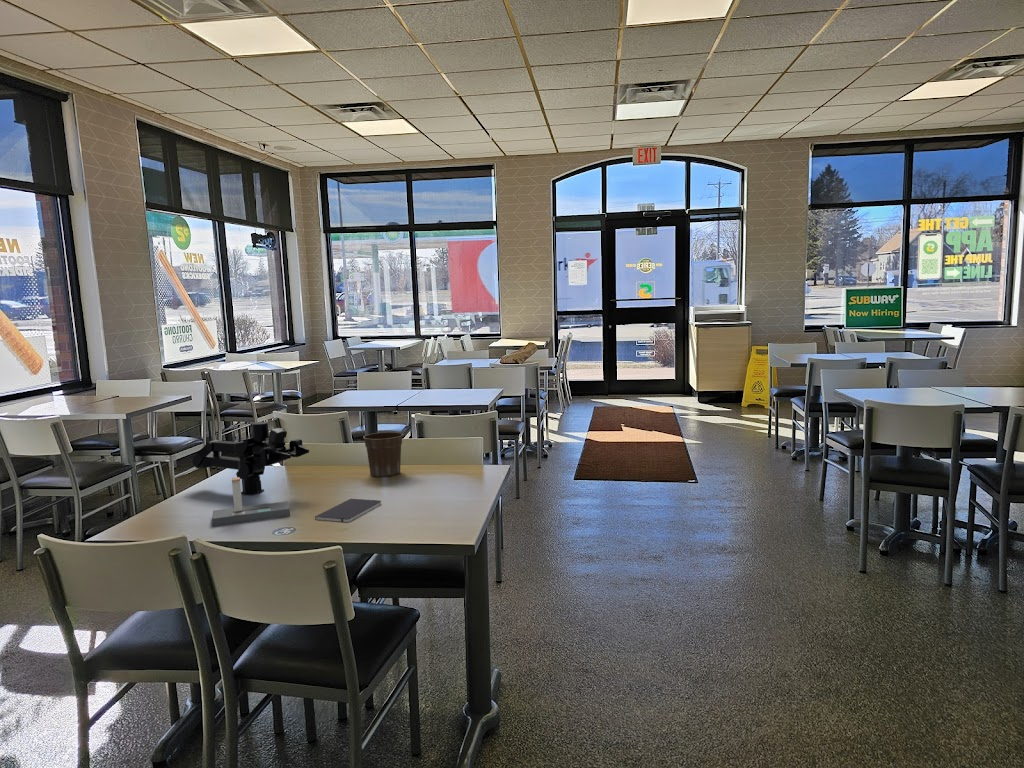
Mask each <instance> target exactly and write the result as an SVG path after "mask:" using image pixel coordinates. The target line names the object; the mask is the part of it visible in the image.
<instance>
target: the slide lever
mask: <svg viewBox="0 0 1024 768" xmlns="http://www.w3.org/2000/svg"><path fill="white" fill-rule="evenodd" d="M231 484H232V498H233V499H232V501H233V508H234V511H235V512H236V511H242V507H243V499H242V498H243V497H242V494H241V492H242V485H241V479H240V477H237V476H236V477H232V478H231Z"/></svg>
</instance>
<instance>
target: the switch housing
mask: <svg viewBox="0 0 1024 768" xmlns="http://www.w3.org/2000/svg"><path fill="white" fill-rule="evenodd" d="M290 516H291V509H290V503H289V501H288V500H286V501H278V502H271V503H263V504H261V503H260V504H256V505H255V504H253V505H248V506H247V505H246V506H242V511H236V512H235V511H234V507H231V508H222V509H215V510H213V511H212V516H211V525H212V526H213V527H215V526H223V525H229V524H237V523H244V522H252V521H260V520H266V519H267V520H268V519H273V518H282V517H290Z"/></svg>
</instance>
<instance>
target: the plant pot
mask: <svg viewBox="0 0 1024 768" xmlns="http://www.w3.org/2000/svg"><path fill="white" fill-rule="evenodd" d="M403 436H404V433H402V432H397V431H386V432H385V431H383V432H382V431H381V432H375V433H369V434H365V435H363V440H364V445H365V447H366V453H367V461H368V466H369V473H370V475H371V476H373V477H377V478H385V477H389V476H391V475H393V476H396V475H395V474H397V475H399V474H400V473H401V462H402V461H401V458H402V457H401V455H402V444H403ZM399 472H400V473H399ZM398 473H399V474H398Z"/></svg>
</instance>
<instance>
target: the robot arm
mask: <svg viewBox="0 0 1024 768" xmlns="http://www.w3.org/2000/svg"><path fill="white" fill-rule="evenodd" d="M250 429H251V437H249V438H245V440H243V441H231V440H220V439H214V440H213V439H212V440H209V441H208V442H206V443H205V445H204V446H203V447H202V448H201V449H199V450H198V451H197V452H196V454H193V455H194V456H193V458H192V462H191V463H192V465H193V466H194V468H196V469H207V468H212V467H213V468H214V467H215V468H222V469H229V470H237V471H236V473H235V475H236V478H237V477H240V480H241V495H251V496H252V495H256V494H258V493H262V492H264V491H265V489H263V488H262V480H261V476H262V475H263V476H264V473H265V470H266V469H265V468H266V467H267V466H272V465H275V464H278V463H281V462H283V461H284V462H285V461H287V460H290V459H291V458H299V457H302V456H304V455H307V454H309V453H310V449H308V448H307V447H305V446H303V440H302V439H301V438H300V439H299V438H298V439H296V438H295V439H292V440H290V442H289V444H288V445H289V447H286V442H285V441H284V440H285V438H287V435H288V431H287V430H286V429H285V428H282V427H281V428H280V427H276V428H272V429H271V430H270V429H269V422H268V421H259V422H250ZM267 439H268V442H267ZM221 453H228V454H229V453H232V454H235V455H236V456H238V457H232V456H225V455H224V456H223V455H220V454H221Z"/></svg>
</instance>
